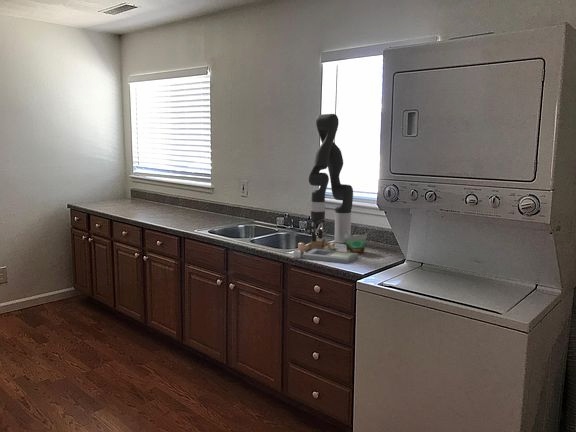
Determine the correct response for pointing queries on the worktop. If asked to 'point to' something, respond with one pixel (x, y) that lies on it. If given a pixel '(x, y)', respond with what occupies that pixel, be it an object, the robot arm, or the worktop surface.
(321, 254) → the grey tray
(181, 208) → the worktop surface
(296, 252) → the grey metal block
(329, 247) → the tan curved piece
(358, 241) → the food container
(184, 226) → the worktop surface
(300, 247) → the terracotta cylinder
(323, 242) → the walnut cube
